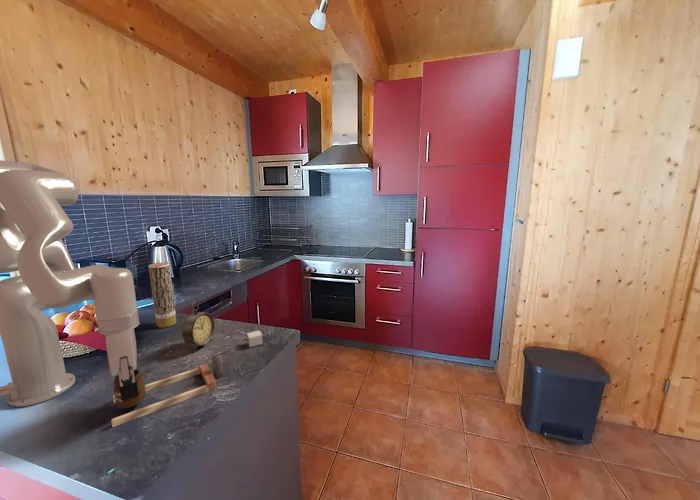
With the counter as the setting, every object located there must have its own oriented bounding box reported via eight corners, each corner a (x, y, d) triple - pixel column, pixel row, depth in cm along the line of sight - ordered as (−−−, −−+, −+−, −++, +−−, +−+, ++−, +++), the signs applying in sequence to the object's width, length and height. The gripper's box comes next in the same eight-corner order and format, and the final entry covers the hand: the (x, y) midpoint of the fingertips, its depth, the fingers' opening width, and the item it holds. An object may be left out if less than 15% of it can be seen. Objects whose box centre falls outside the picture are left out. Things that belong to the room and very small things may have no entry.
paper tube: (152, 326, 116) (144, 265, 111) (169, 320, 122) (161, 261, 117) (164, 329, 113) (156, 267, 109) (180, 322, 119) (173, 263, 115)
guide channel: (112, 427, 65) (108, 403, 64) (113, 400, 74) (109, 379, 73) (228, 383, 80) (226, 364, 79) (218, 365, 89) (216, 347, 88)
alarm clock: (195, 355, 95) (190, 308, 92) (181, 353, 96) (175, 307, 93) (217, 339, 105) (212, 296, 102) (203, 337, 106) (199, 295, 103)
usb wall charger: (262, 344, 101) (261, 334, 101) (241, 350, 98) (240, 339, 97) (259, 340, 105) (259, 329, 104) (239, 345, 101) (238, 334, 101)
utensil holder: (140, 389, 76) (134, 347, 74) (150, 399, 72) (144, 354, 70) (112, 402, 71) (104, 357, 69) (122, 413, 68) (114, 366, 65)
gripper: (100, 313, 72) (111, 379, 76) (94, 340, 59) (109, 418, 62) (137, 306, 77) (146, 368, 80) (140, 330, 63) (151, 403, 67)
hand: (130, 390), depth 71 cm, fingers closed on utensil holder, 5 cm apart
